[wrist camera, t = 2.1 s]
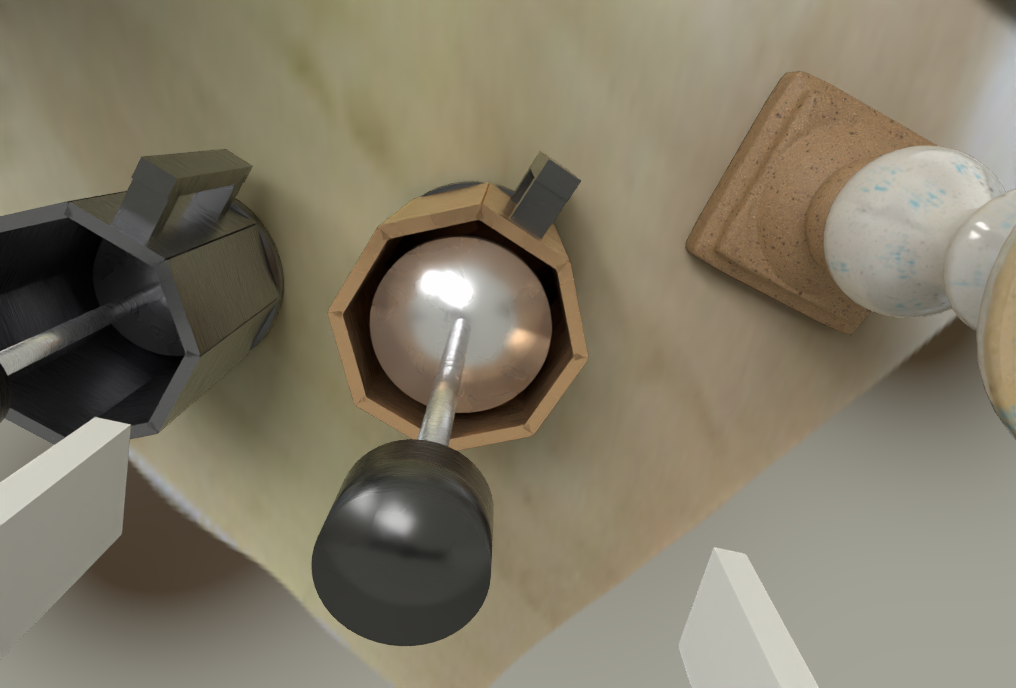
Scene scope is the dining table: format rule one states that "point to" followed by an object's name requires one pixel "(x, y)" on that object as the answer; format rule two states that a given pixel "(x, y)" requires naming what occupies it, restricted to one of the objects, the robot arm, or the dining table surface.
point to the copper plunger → (432, 442)
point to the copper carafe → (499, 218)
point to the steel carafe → (183, 277)
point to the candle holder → (867, 224)
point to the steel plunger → (105, 316)
